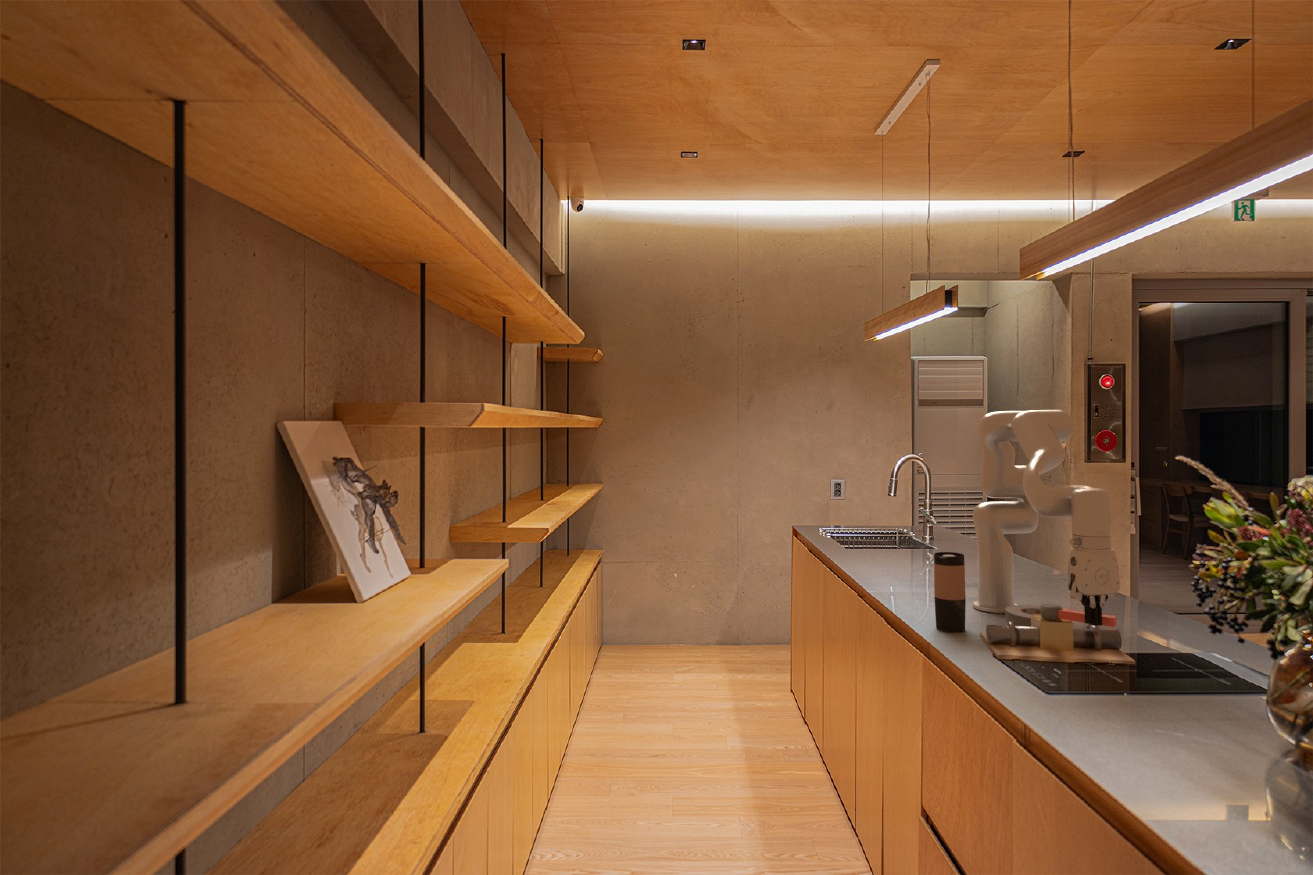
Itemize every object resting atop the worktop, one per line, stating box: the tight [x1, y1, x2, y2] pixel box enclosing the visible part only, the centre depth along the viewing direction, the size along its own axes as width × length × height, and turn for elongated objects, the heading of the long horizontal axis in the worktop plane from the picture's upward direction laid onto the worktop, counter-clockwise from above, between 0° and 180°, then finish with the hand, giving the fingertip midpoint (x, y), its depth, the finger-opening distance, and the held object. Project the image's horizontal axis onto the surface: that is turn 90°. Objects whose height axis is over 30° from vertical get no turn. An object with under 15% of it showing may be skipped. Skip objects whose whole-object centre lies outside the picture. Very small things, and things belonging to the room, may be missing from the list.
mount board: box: [979, 632, 1136, 665], centre depth 165 cm, size 28×18×1 cm, turn 77°
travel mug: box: [933, 551, 967, 634], centre depth 184 cm, size 8×8×20 cm
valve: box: [985, 614, 1123, 651], centre depth 165 cm, size 28×7×8 cm, turn 77°
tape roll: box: [1004, 604, 1073, 626], centre depth 182 cm, size 15×15×5 cm
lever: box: [1040, 603, 1118, 628], centre depth 161 cm, size 15×4×3 cm, turn 45°
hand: (1093, 623), depth 156 cm, fingers closed
